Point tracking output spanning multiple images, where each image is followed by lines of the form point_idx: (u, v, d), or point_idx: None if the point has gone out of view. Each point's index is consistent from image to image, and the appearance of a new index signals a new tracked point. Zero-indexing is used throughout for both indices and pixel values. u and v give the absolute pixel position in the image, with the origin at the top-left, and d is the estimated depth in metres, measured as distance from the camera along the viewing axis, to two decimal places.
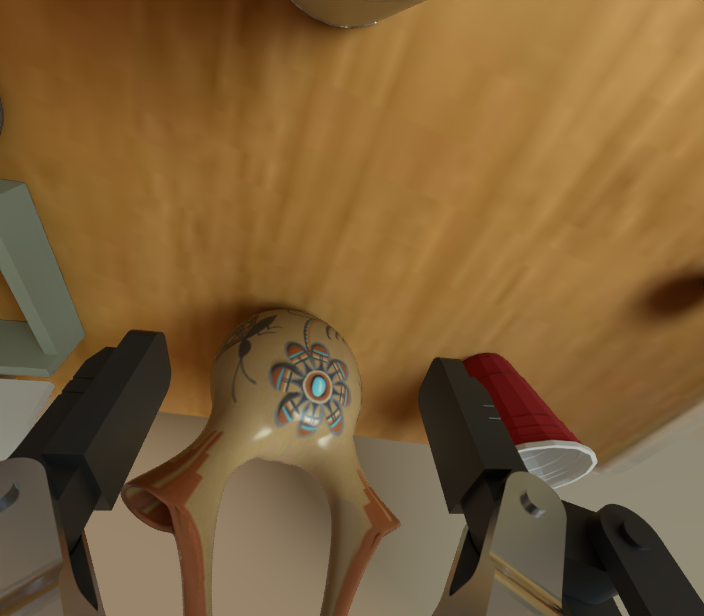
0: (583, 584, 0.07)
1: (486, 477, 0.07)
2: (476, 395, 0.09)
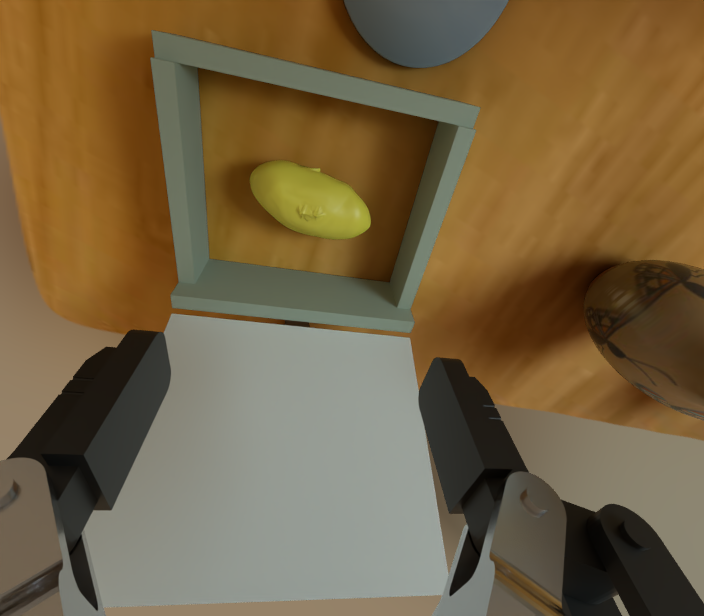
0: (583, 584, 0.07)
1: (486, 477, 0.07)
2: (476, 395, 0.09)
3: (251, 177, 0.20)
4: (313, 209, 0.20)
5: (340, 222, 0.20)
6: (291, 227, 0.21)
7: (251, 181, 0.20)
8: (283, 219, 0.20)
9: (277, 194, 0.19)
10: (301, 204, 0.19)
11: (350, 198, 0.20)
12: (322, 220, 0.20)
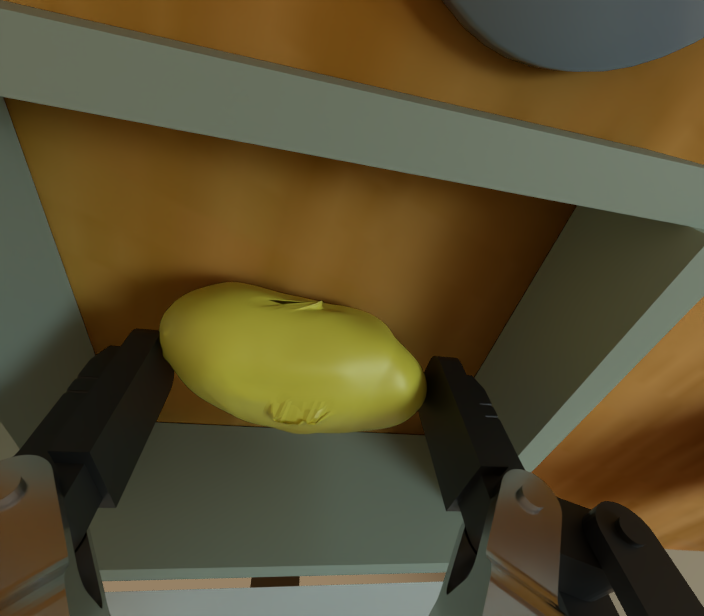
0: (579, 581, 0.07)
1: (482, 475, 0.08)
2: (473, 393, 0.09)
3: (160, 328, 0.08)
4: (306, 408, 0.08)
5: (367, 420, 0.09)
6: None
7: (160, 338, 0.08)
8: (238, 416, 0.09)
9: (215, 386, 0.08)
10: (277, 400, 0.08)
11: (392, 369, 0.09)
12: (327, 424, 0.09)
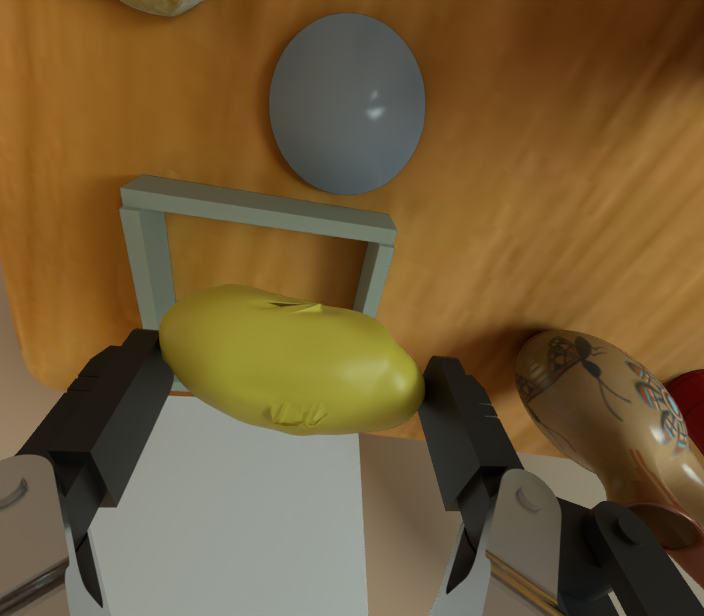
0: (579, 581, 0.07)
1: (482, 474, 0.08)
2: (473, 393, 0.09)
3: (160, 331, 0.08)
4: (305, 410, 0.08)
5: (366, 422, 0.09)
6: None
7: (160, 341, 0.08)
8: None
9: (214, 388, 0.08)
10: (276, 402, 0.08)
11: (390, 371, 0.09)
12: (325, 426, 0.09)
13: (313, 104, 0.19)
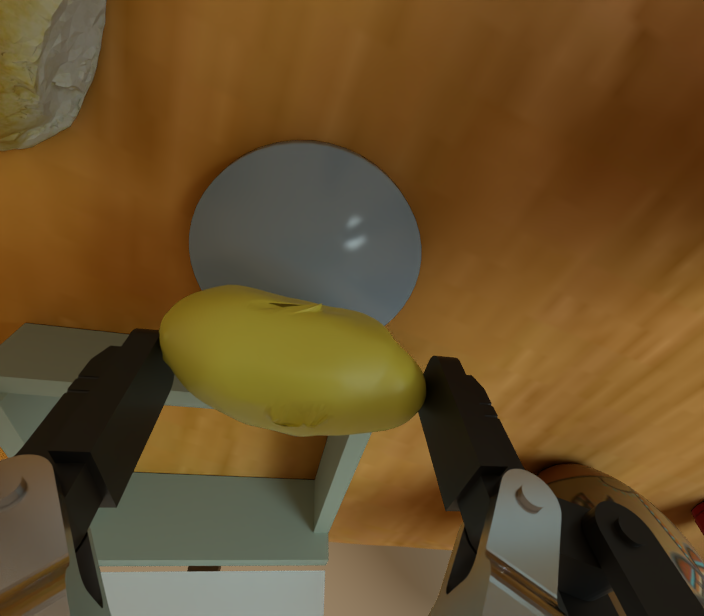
0: (578, 581, 0.07)
1: (482, 474, 0.08)
2: (473, 393, 0.09)
3: (160, 331, 0.08)
4: (305, 411, 0.08)
5: (367, 422, 0.09)
6: None
7: (160, 341, 0.08)
8: (238, 419, 0.09)
9: (215, 388, 0.08)
10: (277, 403, 0.08)
11: (391, 371, 0.09)
12: (326, 426, 0.09)
13: (255, 255, 0.13)
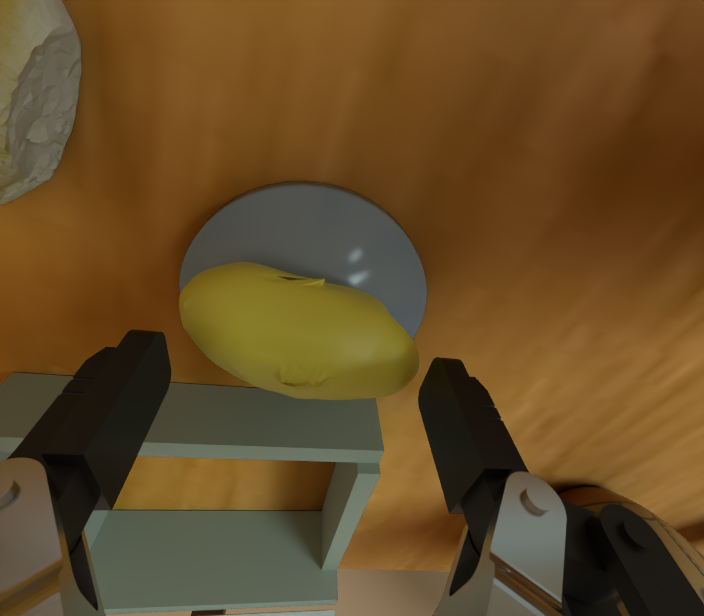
0: (583, 584, 0.07)
1: (486, 477, 0.07)
2: (476, 395, 0.09)
3: (180, 301, 0.09)
4: (310, 372, 0.09)
5: (365, 386, 0.10)
6: None
7: (180, 310, 0.09)
8: None
9: (230, 350, 0.09)
10: (285, 364, 0.09)
11: (387, 339, 0.10)
12: (328, 388, 0.10)
13: None
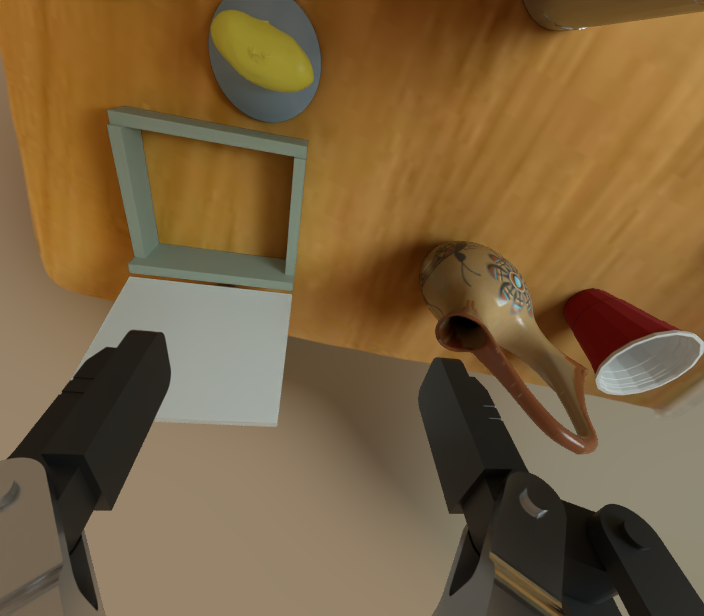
0: (583, 584, 0.07)
1: (486, 477, 0.07)
2: (476, 395, 0.09)
3: (211, 25, 0.24)
4: (261, 50, 0.24)
5: (285, 66, 0.25)
6: (245, 73, 0.25)
7: (211, 28, 0.24)
8: (238, 62, 0.25)
9: (230, 34, 0.24)
10: (251, 45, 0.24)
11: (293, 45, 0.25)
12: (269, 62, 0.25)
13: None
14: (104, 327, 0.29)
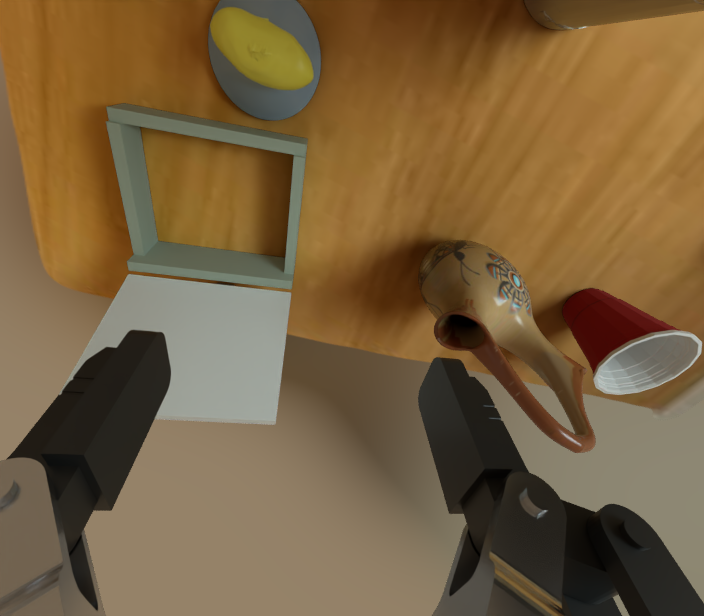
0: (583, 584, 0.07)
1: (486, 477, 0.07)
2: (476, 395, 0.09)
3: (211, 22, 0.24)
4: (261, 48, 0.24)
5: (285, 64, 0.25)
6: (245, 70, 0.25)
7: (211, 25, 0.24)
8: (237, 60, 0.25)
9: (230, 31, 0.24)
10: (251, 42, 0.24)
11: (293, 43, 0.25)
12: (269, 60, 0.25)
13: None
14: (102, 324, 0.29)
